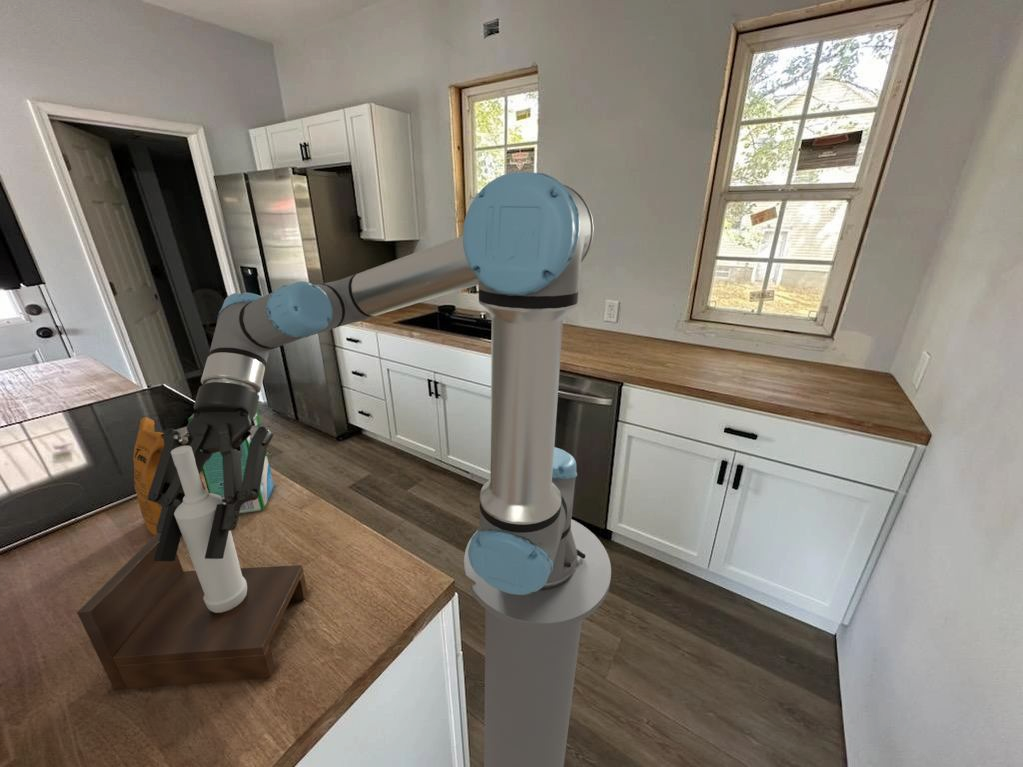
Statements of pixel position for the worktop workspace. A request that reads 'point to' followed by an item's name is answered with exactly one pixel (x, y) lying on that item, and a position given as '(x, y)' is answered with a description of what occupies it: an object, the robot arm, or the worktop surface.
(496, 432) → the robot arm
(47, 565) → the worktop surface
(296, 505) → the worktop surface
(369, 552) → the worktop surface
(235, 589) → the bottle
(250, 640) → the shelf
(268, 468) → the milk carton
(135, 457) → the coffee package
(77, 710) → the worktop surface
